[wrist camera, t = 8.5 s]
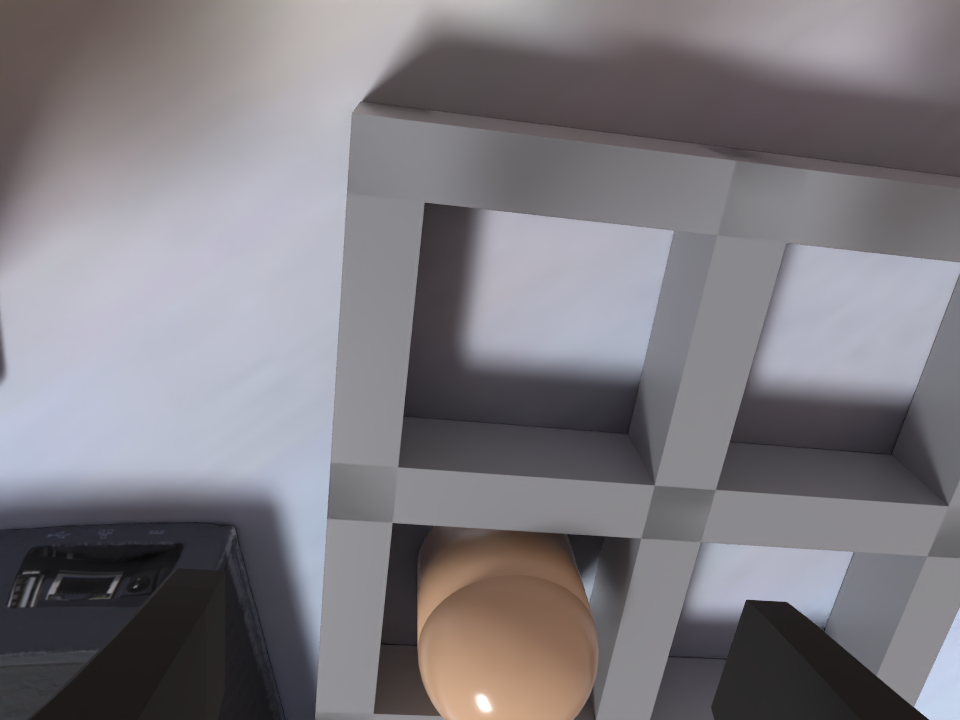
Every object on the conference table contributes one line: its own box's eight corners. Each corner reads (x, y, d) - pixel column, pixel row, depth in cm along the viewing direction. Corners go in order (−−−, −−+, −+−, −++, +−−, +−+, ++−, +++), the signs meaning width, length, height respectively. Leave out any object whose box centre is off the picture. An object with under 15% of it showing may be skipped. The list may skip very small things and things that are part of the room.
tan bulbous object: (410, 621, 22) (408, 790, 17) (426, 492, 21) (428, 638, 16) (558, 629, 23) (597, 794, 18) (585, 503, 21) (637, 648, 16)
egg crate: (778, 856, 28) (810, 931, 25) (312, 851, 26) (301, 931, 24) (1052, 188, 19) (1141, 211, 16) (361, 101, 17) (352, 113, 14)
